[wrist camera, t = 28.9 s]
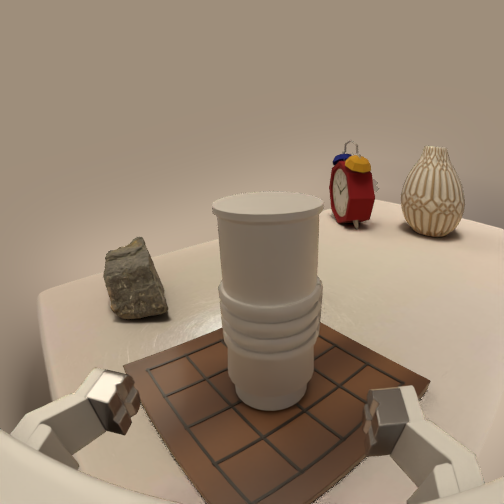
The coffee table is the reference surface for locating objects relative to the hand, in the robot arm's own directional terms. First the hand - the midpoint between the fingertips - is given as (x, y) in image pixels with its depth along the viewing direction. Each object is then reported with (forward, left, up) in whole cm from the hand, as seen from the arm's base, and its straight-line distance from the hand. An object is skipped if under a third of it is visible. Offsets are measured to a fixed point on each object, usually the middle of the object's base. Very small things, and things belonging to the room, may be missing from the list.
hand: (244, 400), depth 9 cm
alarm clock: (+37, -57, -12) cm, 69 cm away
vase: (+20, -66, -12) cm, 70 cm away
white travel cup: (+8, -8, -11) cm, 16 cm away
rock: (+34, -4, -12) cm, 36 cm away
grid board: (+9, -8, -12) cm, 17 cm away
